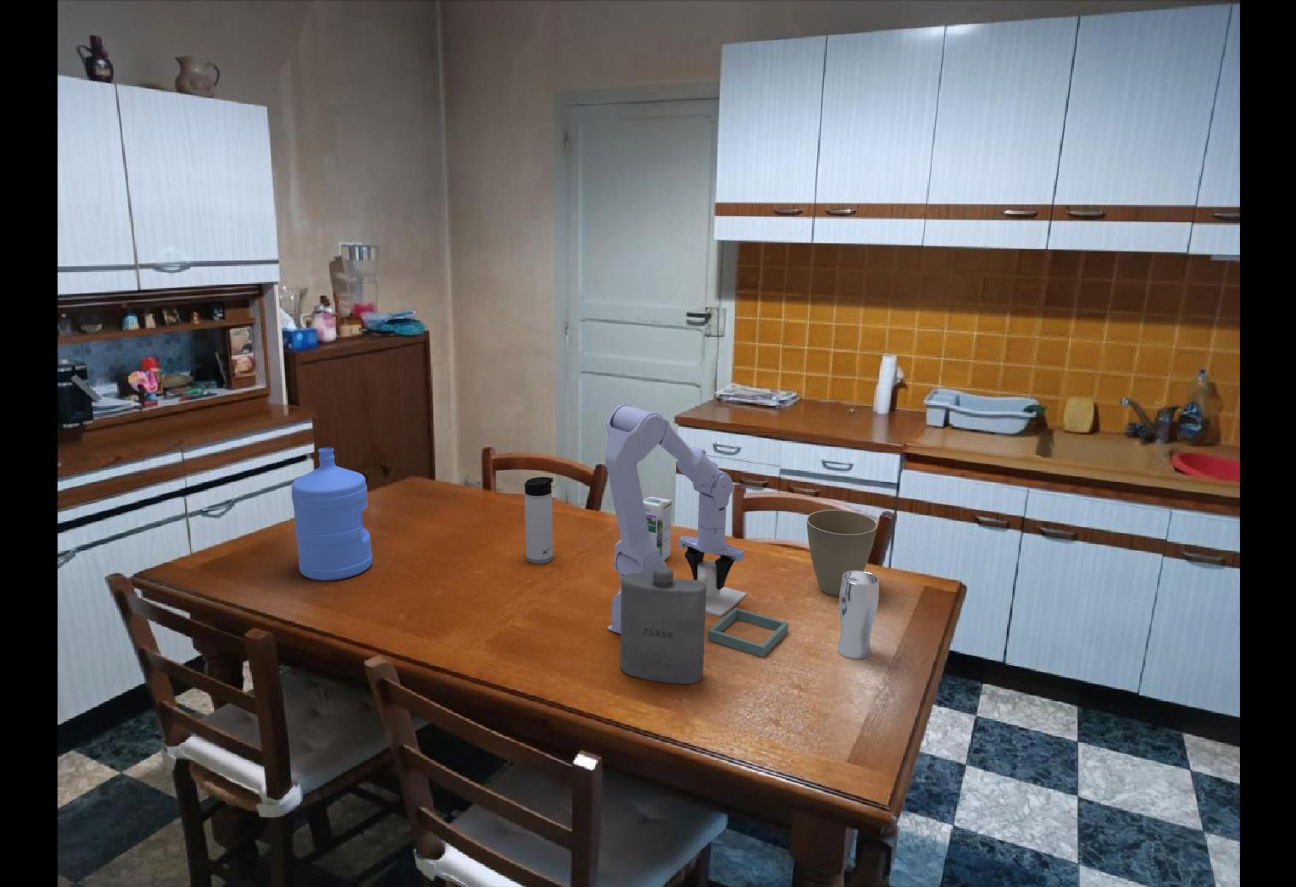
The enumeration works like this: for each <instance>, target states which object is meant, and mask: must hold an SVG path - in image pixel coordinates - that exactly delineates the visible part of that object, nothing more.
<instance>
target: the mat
mask: <svg viewBox="0 0 1296 887" xmlns="http://www.w3.org/2000/svg"><path fill="white" fill-rule="evenodd" d="M745 597H747V592H743V591H740V590H736V589H733V588H728V587H725V586H724V587H723V588H722V589H721V590H720V594H719V595H717V596H714V597H706V612H705V614H709V615H713V616H716V617H719V618H721V617H722V618H723V617H724V616H725V615H726V613H728V612H730V611H731V609H733V608H734V607H735V606H736V605H737V604H738V603H739V602H741V601H742V600H743V599H744V598H745Z"/></svg>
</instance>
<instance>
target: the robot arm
mask: <svg viewBox="0 0 1296 887" xmlns="http://www.w3.org/2000/svg"><path fill="white" fill-rule="evenodd" d="M605 423H606V424H605V426H606V430H607V435H608V437H607V444H606V450H605V457H604V458H605V459H604V460H605V467H606V470H607V476H608V480H609V486H610V491H611V496H612V500H613V505H614V511H615V515H616V519H617V520H616V521H617V527H618V531H619V535H620V540H618V541H617V543H615V545H614V552H615V555H614V559H613V567H614V569H615V571H616V573H618V574H619V580H620V581H621V579H622V577H623V576H625V575H627V574H631V573H641V574H646V575H651V576H653V570H654V569H656V568H658V567H668V566H667V563H666V561H665V560H663V559H662V558H661V555H660V551H659V549H658V548H657V546H656V545H655V544H654V542H653V541H652V540H651V538H650V536H649V530H648V525H647V519H646V514H645V509H644V503H643V500H644V498H643V494H642V488H641V482H640V476H639V472H638V465H637V464H638V463H639V462H641V461H643V460H644V459H645V458H646V457H647V456H648V455H649V454H650V453H651V452H652V451H653V449H655V448H656V446H658V445H660V446H661V448H663V450H665V451H666V452H668V453H669V454H670V455H671V456H672V457H673V458H675V459H676V460H677V461H676V462H677V463H676V467H677V468H678V470H679V471H680V473H682V474H683V475H684V476H685V477H686V478H687V479H688V480H689V481H690V482H691V483H692V486H693V489H694V491H696V492H698V511H697V512H698V516H697V537H694V536H693V537H692V536H686V535H683V536H681V537H679V538H678V548H687V549H686V551H685V552H684V558H685V560H686V561H687V562H688V565H689V567H690V569H691V573H692V578H693V579H692V580H697V566H698V563H700V562H702V561H704V558H705V554H711V555H713V556H714V555H715V556H718V558H717V559H716V560H714V561H715V564H716V570H717V589H718V590H721V589H722V588H723V587H725V586H726V585H725V584H726V582H727V577H728V575H729V572H730V570H731V569H732V566H733V565H734V563H735V562H737V563H741V562H742V561H744V559H745V550H742V549H739V548H737V547H735V546H732V545H730V544H729V543H726V541H725V540H726V522H727V507H728V506H729V505H728V504H730V496H731V494H732V493H733V490H734V487H735V486H734V485H735V484H734V482H733V480H732V478H731V476H730V474H729V473H727V472H725V471H723V470H720V469H719V467H718V466H719V465H718V464H717V462H715V461H712V460H711V459H710V458H709V457H708V456H706V455H707V451H706V450H705V449H703V448H701V447H695V446H694V447H690V446H689V445H688V444H687V443H686V442H685V441H684V440H683V438H682V437H681V436H680V435H679V433H677V432H676V430H675V429H674V428H673V427H672V426H671V424H670V421H669V420H667V419H666V418H664V417H663V416H662V414H660V413H659V412H654V411H648V410H644V409H642V408H639V407H635V406H632V405H630V404H626V403H623V404H620V405H618V406H617V407H615V408H614V410H613V411H612V412H611V414H610V416H609V417H608V418H607V421H606V422H605ZM610 613H611V615H610V616H611V617H610V618H611V624H610V625H608V626H607V629H608V631H611V632H614V633H616V634H620V635H621V587H620V588H619V590H618V592H617V594H615V595H613V597H612V600H611V612H610Z"/></svg>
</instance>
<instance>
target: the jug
mask: <svg viewBox="0 0 1296 887" xmlns="http://www.w3.org/2000/svg"><path fill="white" fill-rule="evenodd" d="M715 561H716V560H703V561H702V562H700V563H698V566H697V581H700V582H702V583H704V584H705V585H706V597H714V596H717V595H719V594H720V590H718V589H717V570H716V564H715Z"/></svg>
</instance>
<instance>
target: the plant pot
mask: <svg viewBox="0 0 1296 887" xmlns="http://www.w3.org/2000/svg"><path fill="white" fill-rule="evenodd" d="M878 525H879V524H878V523H877V521H876V519H874V518H872V517H871V516H868V515H866V514H864V513H860V512H856V511H852V510H851V511H850V510H845V509H843V510H842V509H823V510H819V511H813V512H811V513H810V514H808V515H807V517H806V531H807V540H808V546H809V552H810V558H811V563H812V566H813V570H814V574H815V577H816V580H817V583H818V587H819V589H820V590H821V591H822V592H823V593H825V594H827V595H830V596H835V597H839V595H840V588H841V582H842V575H843V574H844V573H845V572H847V571H853V570H859V571H865V569H866V567H867V563H868V561H869V558H870V554H871V552H872V549H873V545H874V542H875V538H876V534H877V530H878Z"/></svg>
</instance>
